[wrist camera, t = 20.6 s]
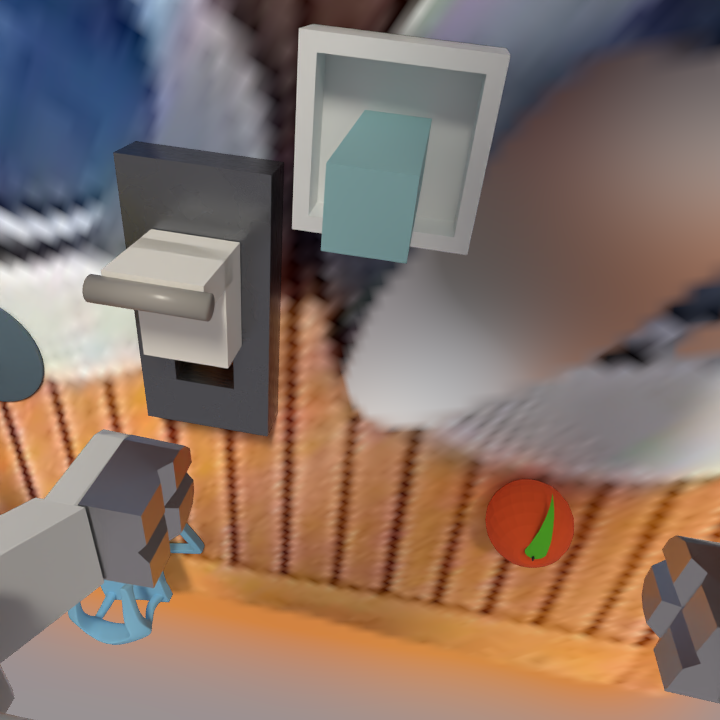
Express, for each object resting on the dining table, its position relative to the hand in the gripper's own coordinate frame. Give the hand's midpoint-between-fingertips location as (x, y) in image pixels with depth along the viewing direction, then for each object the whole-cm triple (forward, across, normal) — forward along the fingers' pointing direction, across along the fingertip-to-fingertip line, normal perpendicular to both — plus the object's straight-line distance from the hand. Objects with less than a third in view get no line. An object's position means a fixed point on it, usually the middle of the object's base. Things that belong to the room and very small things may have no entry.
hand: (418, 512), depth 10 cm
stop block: (+30, +3, +2) cm, 30 cm away
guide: (+30, +15, +15) cm, 37 cm away
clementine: (+30, -12, +29) cm, 43 cm away
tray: (+31, +3, +2) cm, 31 cm away
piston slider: (+27, +15, +13) cm, 34 cm away
